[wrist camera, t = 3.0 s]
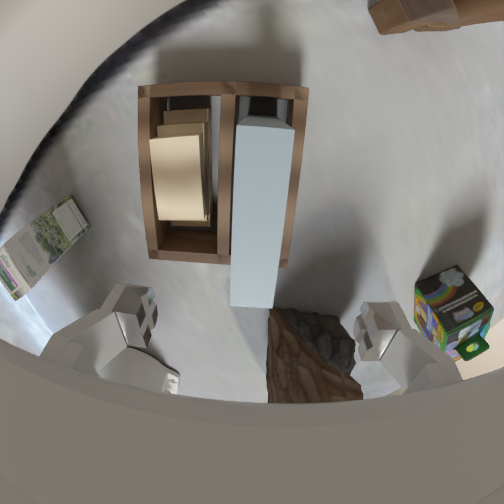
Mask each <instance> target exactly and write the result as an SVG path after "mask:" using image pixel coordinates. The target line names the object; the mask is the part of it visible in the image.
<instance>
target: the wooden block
mask: <svg viewBox="0 0 504 504" xmlns="http://www.w3.org/2000/svg"><path fill="white" fill-rule="evenodd" d="M369 13H370V15H371V17H372V19H373V21H374V23H375V25H376V27H377V29H378V31H379V33H380V34H382V35H386V34H395V33H404V32H407V31H409V30H412V29H414V30H415V31H418V32H421V31H448V30H453V29H458V28H461V26H466V25H472V24H479V23H486V22H495V21H504V0H381V1H380V2H378V3H377V4H375V5H374V6H372V7H371V8H370V9H369Z"/></svg>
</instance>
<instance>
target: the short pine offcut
mask: <svg viewBox="0 0 504 504" xmlns="http://www.w3.org/2000/svg"><path fill="white" fill-rule="evenodd" d="M149 143H150V154H151V164H152V173H153V182H154V190H155V197H156V204H157V211H158V218H159V220H200V219H204V218H205V216H206V214H207V197H206V181H205V163H204V142H203V133H192V134H179V135H168V136H158V137H155V138H152V139H150V140H149Z"/></svg>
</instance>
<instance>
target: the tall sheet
mask: <svg viewBox="0 0 504 504" xmlns="http://www.w3.org/2000/svg"><path fill="white" fill-rule="evenodd" d="M294 133H295V130H294V129H293V128H292V127H290V126H289V125H288V124H286V123H285V122H284V121H282V120H281V119H279V118H278V117H273V116H260V115H247V116H246V117H245V118H244V119H243V120H242V121H241V122H240V123H239V124H237V126H236V144H235V165H234V187H233V212H232V241H231V277H230V306H240V307H255V308H272V307H273V301H274V294H275V287H276V280H277V273H278V266H279V259H280V252H281V244H282V237H283V229H284V221H285V213H286V205H287V197H288V188H289V180H290V171H291V162H292V153H293V143H294Z"/></svg>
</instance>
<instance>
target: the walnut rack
mask: <svg viewBox="0 0 504 504" xmlns="http://www.w3.org/2000/svg"><path fill="white" fill-rule="evenodd" d="M308 95H309V88H305V87H297V86H289V85H280V84H269V83H255V82H230V81H203V82H179V83H165V84H154V85H145V86H138V147H139V167H140V182H141V194H142V205H143V215H144V224H145V232H146V239H147V247H148V254H149V259H161V260H173V261H186V262H199V263H212V264H226V265H231V241H232V212H233V187H234V165H235V144H236V126H237V124H238V115H239V99H240V96H246V97H262V98H274V99H285V100H288V110H287V121H286V124H288V125H289V126H290V127H292V128H293V129H294V130H295V133H294V143H293V153H292V162H291V171H290V180H289V188H288V197H287V205H286V213H285V221H284V229H283V237H282V244H281V252H280V259H279V266H278V268H286V269H287V262H288V256H289V249H290V243H291V236H292V229H293V222H294V215H295V208H296V201H297V193H298V186H299V178H300V170H301V161H302V153H303V144H304V135H305V126H306V116H307V106H308ZM178 96H221V116H220V139H219V169H218V226H217V232H205V231H189V230H171V229H170V220H159V218H158V211H157V204H156V197H155V190H154V182H153V173H152V164H151V154H150V143H149V140H150V139H152V138H155V137H158V134H157V126H159V125H163V124H164V111H167V97H178Z"/></svg>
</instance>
